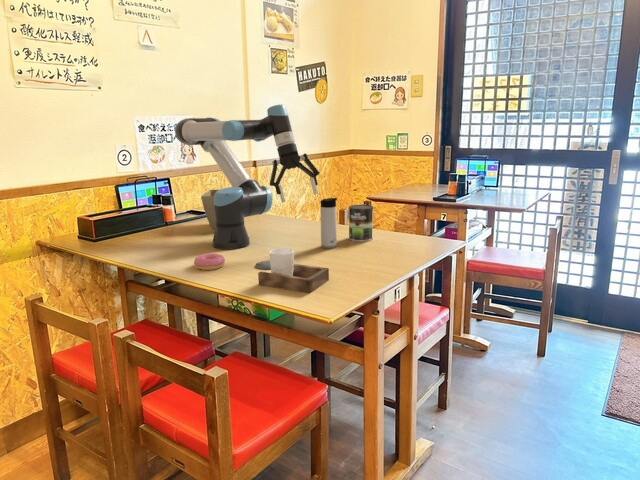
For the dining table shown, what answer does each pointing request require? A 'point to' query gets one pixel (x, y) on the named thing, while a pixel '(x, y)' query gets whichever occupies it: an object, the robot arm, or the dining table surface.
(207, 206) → the flower pot
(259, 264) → the coaster
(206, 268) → the doughnut
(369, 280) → the dining table surface
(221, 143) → the robot arm
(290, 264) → the white cup
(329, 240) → the travel mug
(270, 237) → the dining table surface
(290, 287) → the brown wooden tray
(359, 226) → the coffee can
